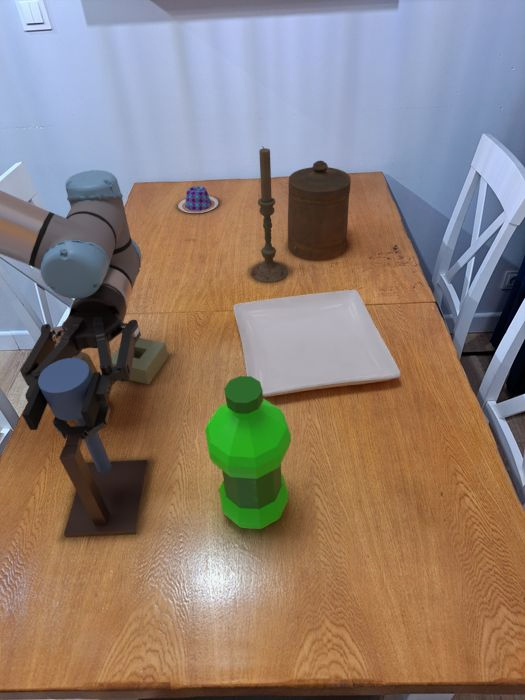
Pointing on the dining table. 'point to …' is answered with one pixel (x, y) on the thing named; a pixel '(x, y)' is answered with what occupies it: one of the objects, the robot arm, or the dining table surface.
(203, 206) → the pudding
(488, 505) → the dining table surface
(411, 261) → the dining table surface
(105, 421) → the peg stand
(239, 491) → the plastic bottle
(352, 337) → the square plate
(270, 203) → the candlestick holder
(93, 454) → the peg
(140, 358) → the socket block
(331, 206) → the wooden container
